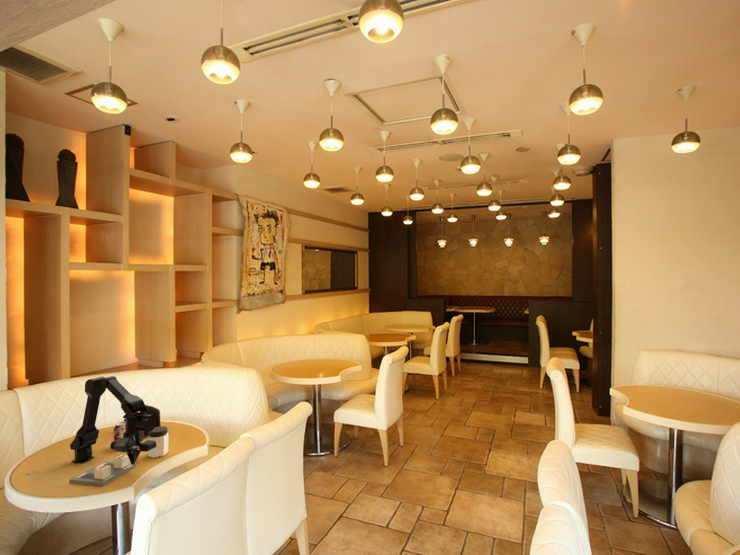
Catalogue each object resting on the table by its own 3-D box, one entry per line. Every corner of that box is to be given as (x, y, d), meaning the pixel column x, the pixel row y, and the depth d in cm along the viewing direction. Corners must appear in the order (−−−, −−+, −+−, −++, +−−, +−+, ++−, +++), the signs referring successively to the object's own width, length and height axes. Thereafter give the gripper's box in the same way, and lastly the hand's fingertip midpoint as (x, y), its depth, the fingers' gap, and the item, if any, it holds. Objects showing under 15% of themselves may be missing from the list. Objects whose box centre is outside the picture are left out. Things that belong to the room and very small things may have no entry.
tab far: (113, 467, 175) (114, 458, 175) (121, 464, 179) (121, 454, 179) (121, 468, 174) (122, 458, 174) (128, 464, 178) (129, 454, 178)
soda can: (126, 443, 207) (126, 420, 207) (131, 447, 202) (131, 423, 203) (111, 447, 201) (111, 423, 202) (116, 451, 197) (116, 426, 197)
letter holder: (140, 427, 231) (141, 402, 232) (161, 433, 221) (161, 408, 221) (122, 432, 223) (123, 407, 223) (142, 439, 213) (143, 412, 213)
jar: (144, 455, 192) (144, 430, 193) (160, 449, 199) (160, 425, 200) (155, 459, 188) (155, 433, 188) (171, 452, 195) (171, 428, 195)
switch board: (69, 483, 165) (69, 479, 165) (105, 464, 183) (105, 460, 183) (102, 486, 162) (102, 482, 162) (136, 466, 180) (136, 463, 180)
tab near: (94, 478, 165) (94, 468, 165) (102, 474, 169) (102, 464, 169) (102, 479, 165) (102, 469, 165) (110, 475, 168) (110, 464, 169)
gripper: (99, 433, 170) (99, 471, 169) (138, 436, 166) (138, 474, 166) (120, 424, 181) (120, 459, 180) (157, 427, 177) (157, 462, 177)
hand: (133, 464), depth 176 cm, fingers closed
